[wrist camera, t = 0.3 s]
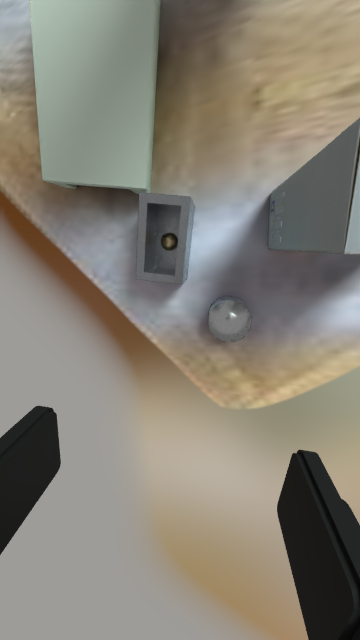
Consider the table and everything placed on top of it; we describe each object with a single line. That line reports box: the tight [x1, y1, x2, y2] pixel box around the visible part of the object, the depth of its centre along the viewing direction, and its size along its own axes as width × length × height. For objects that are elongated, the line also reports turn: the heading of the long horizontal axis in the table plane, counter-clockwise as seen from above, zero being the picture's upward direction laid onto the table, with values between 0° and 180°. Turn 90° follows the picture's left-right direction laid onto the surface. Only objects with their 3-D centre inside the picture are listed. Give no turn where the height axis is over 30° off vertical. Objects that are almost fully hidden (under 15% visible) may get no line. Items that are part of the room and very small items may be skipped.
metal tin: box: [208, 296, 251, 342], centre depth 35 cm, size 6×6×4 cm
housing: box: [136, 192, 195, 285], centre depth 31 cm, size 10×6×7 cm, turn 174°
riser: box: [29, 0, 161, 194], centre depth 29 cm, size 20×14×4 cm
